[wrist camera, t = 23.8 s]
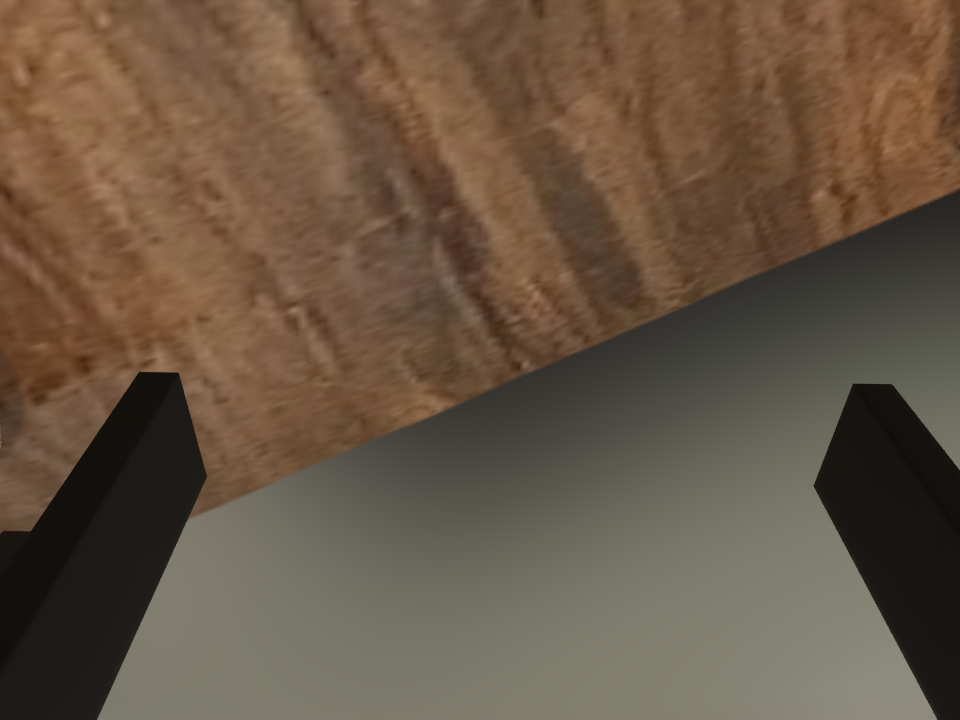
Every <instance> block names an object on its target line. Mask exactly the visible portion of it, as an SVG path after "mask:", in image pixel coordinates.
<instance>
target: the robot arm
mask: <svg viewBox="0 0 960 720" xmlns="http://www.w3.org/2000/svg"><path fill="white" fill-rule="evenodd" d="M206 477H207V475H206V472H205V468H204V464H203V461H202V457H201V453H200V450H199V446H198V442H197V438H196V435H195V431H194V427H193V424H192V420H191V416H190V413H189V409H188V405H187V402H186V398H185V394H184V390H183V387H182V383H181V379H180V376H179V373H166V372H139V373H138V374H137V376H136V377H135V379H134V380H133V382H132V383H131V385H130V386H129V388H128V389H127V391H126V392H125V394H124V395H123V397H122V398H121V399H120V401H119V402H118V404H117V405H116V407H115V408H114V410H113V411H112V413H111V414H110V416H109V417H108V419H107V420H106V422H105V423H104V425H103V426H102V427H101V429H100V430H99V432H98V433H97V435H96V436H95V438H94V439H93V441H92V442H91V444H90V445H89V447H88V448H87V450H86V451H85V452H84V454H83V455H82V457H81V458H80V460H79V461H78V463H77V464H76V466H75V467H74V469H73V470H72V472H71V473H70V475H69V476H68V478H67V479H66V480H65V482H64V483H63V485H62V486H61V488H60V489H59V491H58V492H57V494H56V495H55V497H54V498H53V500H52V501H51V503H50V504H49V505H48V507H47V508H46V510H45V511H44V513H43V514H42V516H41V517H40V519H39V520H38V522H37V523H36V525H35V526H34V528H33V529H32V531H31V532H30V531H3V532H2V533H1V534H0V720H97V718H98V716H99V714H100V712H101V710H102V707H103V705H104V703H105V701H106V699H107V696H108V694H109V692H110V690H111V687H112V685H113V683H114V681H115V679H116V676H117V674H118V672H119V670H120V668H121V665H122V663H123V661H124V659H125V657H126V654H127V652H128V650H129V647H130V645H131V643H132V641H133V639H134V637H135V634H136V632H137V630H138V628H139V626H140V623H141V621H142V619H143V617H144V615H145V612H146V610H147V608H148V606H149V603H150V601H151V599H152V597H153V595H154V592H155V590H156V588H157V586H158V584H159V581H160V579H161V577H162V575H163V573H164V570H165V568H166V566H167V564H168V561H169V559H170V557H171V555H172V553H173V550H174V548H175V546H176V544H177V542H178V539H179V537H180V535H181V533H182V530H183V528H184V526H185V524H186V522H187V519H188V517H189V515H190V513H191V511H192V508H193V506H194V504H195V502H196V500H197V497H198V495H199V493H200V491H201V489H202V486H203V484H204V482H205V480H206ZM814 488H815V490H816V492H817V494H818V495H819V497H820V499H821V501H822V503H823V505H824V507H825V509H826V510H827V512H828V514H829V516H830V518H831V520H832V522H833V524H834V525H835V527H836V529H837V531H838V533H839V535H840V537H841V539H842V541H843V542H844V544H845V546H846V548H847V550H848V552H849V554H850V556H851V558H852V559H853V561H854V563H855V565H856V567H857V569H858V571H859V573H860V575H861V576H862V578H863V580H864V582H865V584H866V586H867V588H868V589H869V591H870V593H871V595H872V597H873V599H874V601H875V603H876V604H877V607H878V609H879V610H880V612H881V614H882V616H883V618H884V620H885V622H886V624H887V625H888V627H889V629H890V631H891V633H892V635H893V637H894V638H895V641H896V642H897V644H898V646H899V648H900V650H901V652H902V654H903V655H904V658H905V659H906V661H907V663H908V665H909V667H910V669H911V671H912V673H913V674H914V676H915V678H916V680H917V682H918V684H919V686H920V688H921V689H922V691H923V693H924V695H925V697H926V699H927V701H928V703H929V705H930V706H931V708H932V710H933V712H934V714H935V716H936V718H937V720H960V470H959V469H958V467H957V466H956V465H955V464H954V463H953V461H952V460H951V459H950V457H949V456H948V455H947V453H946V452H945V451H944V450H943V449H942V447H941V446H940V445H939V443H938V442H937V441H936V440H935V438H934V437H933V436H932V434H931V433H930V432H929V431H928V429H927V428H926V427H925V425H924V424H923V423H922V422H921V421H920V419H919V418H918V417H917V415H916V414H915V413H914V411H913V410H912V409H911V408H910V406H909V405H908V404H907V403H906V401H905V400H904V399H903V397H902V396H901V395H900V394H899V393H898V391H897V390H896V389H895V388H894V386H893V385H892V384H853V385H852V388H851V390H850V393H849V395H848V398H847V401H846V403H845V406H844V408H843V411H842V414H841V416H840V419H839V421H838V424H837V427H836V429H835V432H834V435H833V437H832V440H831V442H830V445H829V447H828V450H827V453H826V455H825V458H824V460H823V463H822V465H821V468H820V471H819V473H818V476H817V479H816V481H815V484H814Z"/></svg>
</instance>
